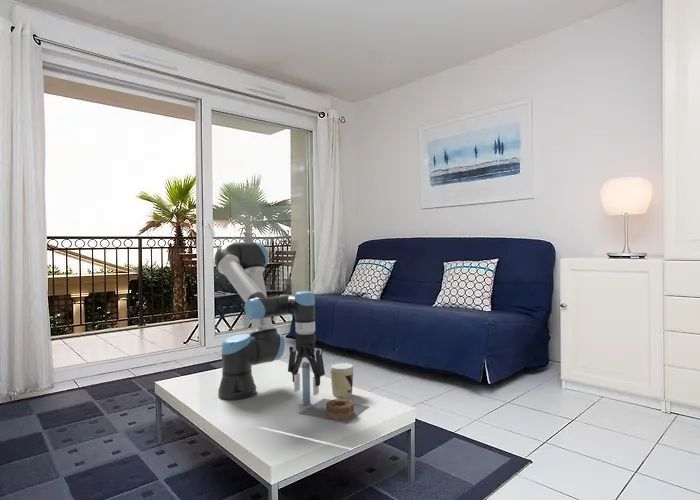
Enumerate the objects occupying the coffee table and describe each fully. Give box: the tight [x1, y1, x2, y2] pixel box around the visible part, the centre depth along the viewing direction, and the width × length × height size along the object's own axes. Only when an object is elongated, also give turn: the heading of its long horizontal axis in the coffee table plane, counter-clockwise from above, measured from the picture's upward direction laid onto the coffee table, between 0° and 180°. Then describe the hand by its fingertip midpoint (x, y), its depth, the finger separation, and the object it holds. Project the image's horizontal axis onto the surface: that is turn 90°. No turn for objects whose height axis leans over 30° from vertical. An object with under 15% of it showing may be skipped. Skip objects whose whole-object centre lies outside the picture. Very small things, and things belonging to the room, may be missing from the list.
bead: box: [326, 398, 355, 420], centre depth 154 cm, size 9×9×4 cm
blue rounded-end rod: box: [301, 361, 311, 406], centre depth 166 cm, size 3×3×16 cm
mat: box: [298, 398, 370, 424], centre depth 159 cm, size 20×17×1 cm
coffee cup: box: [329, 362, 355, 399], centre depth 176 cm, size 9×9×12 cm
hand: (306, 392), depth 166 cm, fingers open, 8 cm apart
